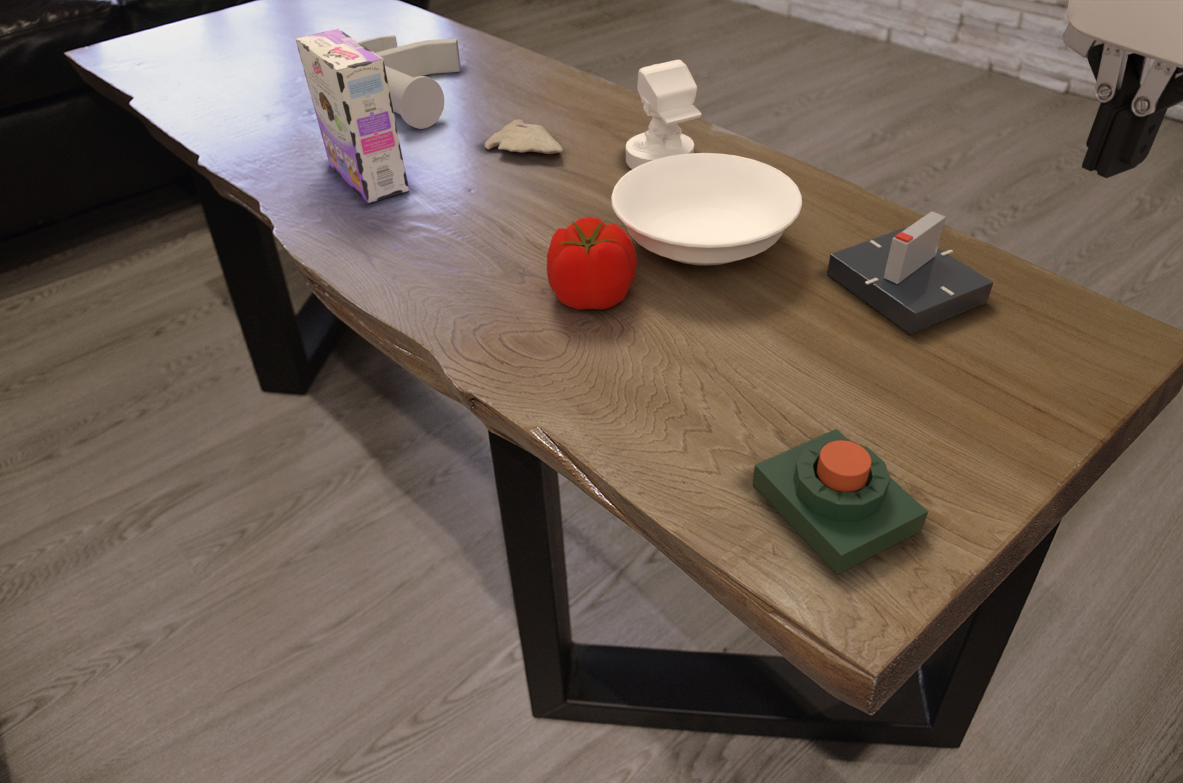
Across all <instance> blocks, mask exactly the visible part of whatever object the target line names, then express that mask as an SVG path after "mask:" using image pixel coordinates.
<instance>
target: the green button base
mask: <svg viewBox="0 0 1183 783" xmlns="http://www.w3.org/2000/svg"><path fill="white" fill-rule="evenodd" d="M840 440H843V441H850V442H853V443H856V444H858V445H860V446H862V447H863V448H864V449H865V450H866V451H867V452H868V453H869V455H870V457H871V467H870V471H869V475H868V479H867V482H866V484H865V485H864V486H863V487H862V488H861V489H859V490H857V491H853V492H840V491H836V490H833V489H831V488H829V487H827V486H826V485H824V484H823V483H822V482H821V480H820V479H819V477H818V474H817V466H818V461H819V456H820V452H821V450H822V448H823V447H824V446H825V445H826V444H828V443H830V442H833V441H840ZM751 484H752V485H753V487H755V488H756V489H757V491H758V492H759V493H760V494H761V495H762V496H763V497H764V498H765V499H766V500H767V501H768V502H769V504H770V505H771V506H772V507H773V508H774V509H775V510H776V512H778V513H779V514H780V516H781V517H782V518H783V519H784V520H785V521H786V522H787V523H788V524H789V525H790V526H791V527H792V529H793V530H794V531H795V532H796V533H797V534H798V535H799V536H800V537H801V538H802V540H804V541H805V542H806V544H808V546H809V547H810V548H811V549H812V550H813V551H814V553H816V554H817V555H818V557H819V558H820V559H821V560H822V561H823V562H824V563H825V564H826V565H827V566H828V567H829V569H831V571H833V573H834V574H835V575H839V574H841V573H843V572H845V571H847V570H849V569H851V568H853V567H854V566H857V565H859V564H861V563H863V562H864V561H866V560H869V559H871V558H872V557H875V556H876V555H878V554H880V553H882V552H884V551H885V550H888V549H890V548H892V547H894V546H896V545H898V544H899V543H901V542H904V541H906V540H907V539H910V538H911V537H913V536H915V535H917V534H918V533H920V532H922V531H923V527H924V525H925V523H926V520H927V517H928V514H929V510H927V509H926V508H925V507H924V506H923V505H922V504H921V503H919V502H918V501H917V500H916V499H915V498H914V497H913V496H912V495H911V494H910V493H909V492H908V491H906V490H905V489H904V488H902V486H900V485H899V483H897V482H896V481H895V480H894V479H893V478H892V477H891V476H890V474H889V471H888V467H887V464H886V462H885V461H884V460H883V459H882V458H880V457H879V456H878V454H876V453H875V452H874V451H873V450H872V449H870V448H869V446H868V447H867V446H865V445H862V444H859V443H857V442H855V441H851V440H849V438H848V437H846V435H844V434H843V433H842V432H841V431H840V430H839V429H838V428H834V429H833V430H830V431H828V432H825V433H823V434H821V435H818V436H817V437H814V438H812V439H810V440H808V441H806V442H802V443H801V444H799V445H797V446H794V447H792V448H789V449H787V450H784V451H783V452H780V453H778V454H776V455H774V456H771V457H769V458H767V459H764V460H763V461H759V462H758V463H756V464H754V469H753V476H752V483H751Z"/></svg>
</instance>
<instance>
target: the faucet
mask: <svg viewBox="0 0 1183 783" xmlns="http://www.w3.org/2000/svg"><path fill="white" fill-rule="evenodd" d="M397 40H398V39H397V36H396V35H395V34H394V35H382V36H377V37H372V38H369V39H365V40H360V41H358V42H359V43H360V44H362V45H363V46H365V47H366V48H368V49H369V50H371V51H372V52H374V53H375V54H377V55H378V56H380V57H381V58H383V59H384V65H385V70H386V75H387V80H388V85H389V91H390V96H391V101H392V105H393V111H394V113H396V114H399V115H400V116H401V118H402V120H403V121H404V122H405V123H406V124H407V125H409V126H411V127H413V128H415V129H419V130H422V129H423V130H425V129H428V128H430V127H432V126H433V125H435V124H436V123H437V122H438V120H440V118H441V116H442V114H443V111H444V108H445V94H444V91H443V89H442V87H441V85H440V84H439V83H438V82H437V81H436V80H435V79H433V78H431V77H429V76H428V75H435V74H448V73H460V72H461V70H462V67H461V57H460V49H459V41H458V38H457V37H456V38H443V39H442V38H440V39H427V40H421V41H415V42H412V43H408V44H403V45H399V46H398V41H397Z"/></svg>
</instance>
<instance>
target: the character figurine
mask: <svg viewBox="0 0 1183 783" xmlns="http://www.w3.org/2000/svg"><path fill="white" fill-rule="evenodd" d="M636 86H637V88H636V89H637V93H638V94H639V97H640V101H641V104H643V106H642V107H643V108H642V109H643V112H644V113H645V114H646V115H647V117H651V119H650V122H649V124H648V126H647V128H648V129H647V130H646V131H644V132H641V133H639V134H636V135H634V136H632V137H630V138H629V139H628V140H627V141H626V144H625V164H626V165H627V166H628V168H629V169H631V170H633V169H634V168H636V167H638V166H640V165H642V164H645V163H647V162H650V161H653V160H656V159H660V158H664V157H668V156H674V155H681V154H692V153H695V143H694V140H693V139H692V138H691V137H690V136H689V135H687V134H684V133H682V132H683V131H682V128H681V127H680V125H679V124H680V123H685V122H688V121H693V120H696V119H700V118H702V115H703V114H702V112H701V111H700V110H699V109H698V108H697V107H696V106H695V105H694V103H695V101H696V96H697V92H698V85H697V83H696V82H695V79H694V78H693V75H692V73H691V72H690V70H689V68H688V66H687V64H686V63H684V62H683V60H681V59H674V60H669V61H666V62H662V63H661V62H660V63H654V64H652V65H648V66H642V67H641V68H639V70H638V74H637V84H636Z"/></svg>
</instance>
